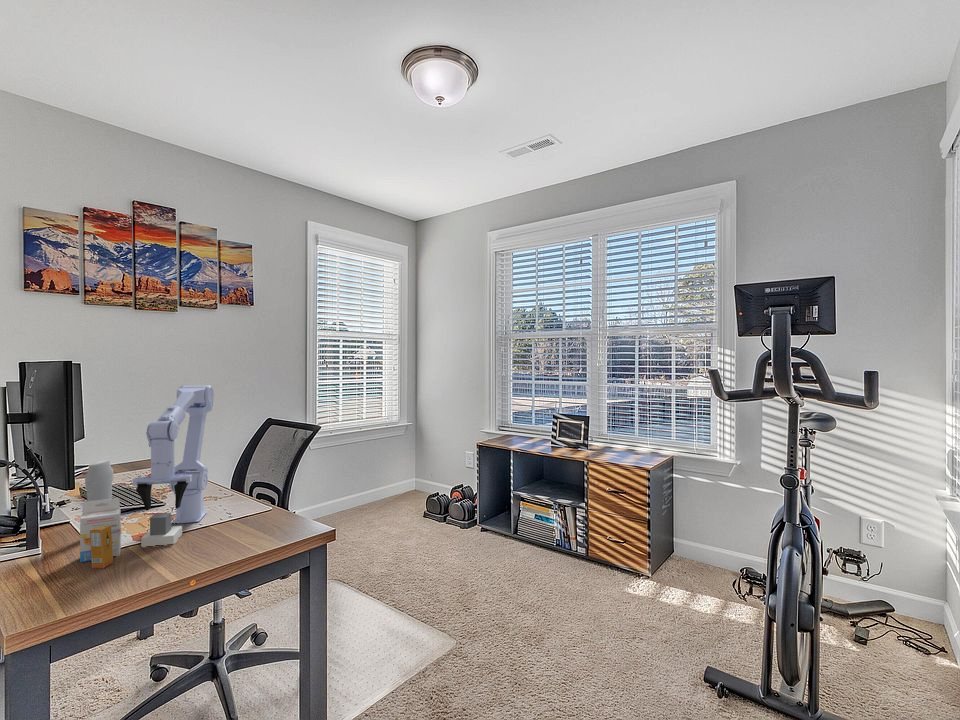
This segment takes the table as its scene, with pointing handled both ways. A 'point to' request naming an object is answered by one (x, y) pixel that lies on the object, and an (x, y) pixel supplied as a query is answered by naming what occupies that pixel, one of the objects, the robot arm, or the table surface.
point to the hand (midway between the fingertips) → (163, 508)
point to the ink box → (100, 524)
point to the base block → (162, 537)
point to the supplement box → (101, 546)
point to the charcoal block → (160, 524)
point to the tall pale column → (99, 482)
